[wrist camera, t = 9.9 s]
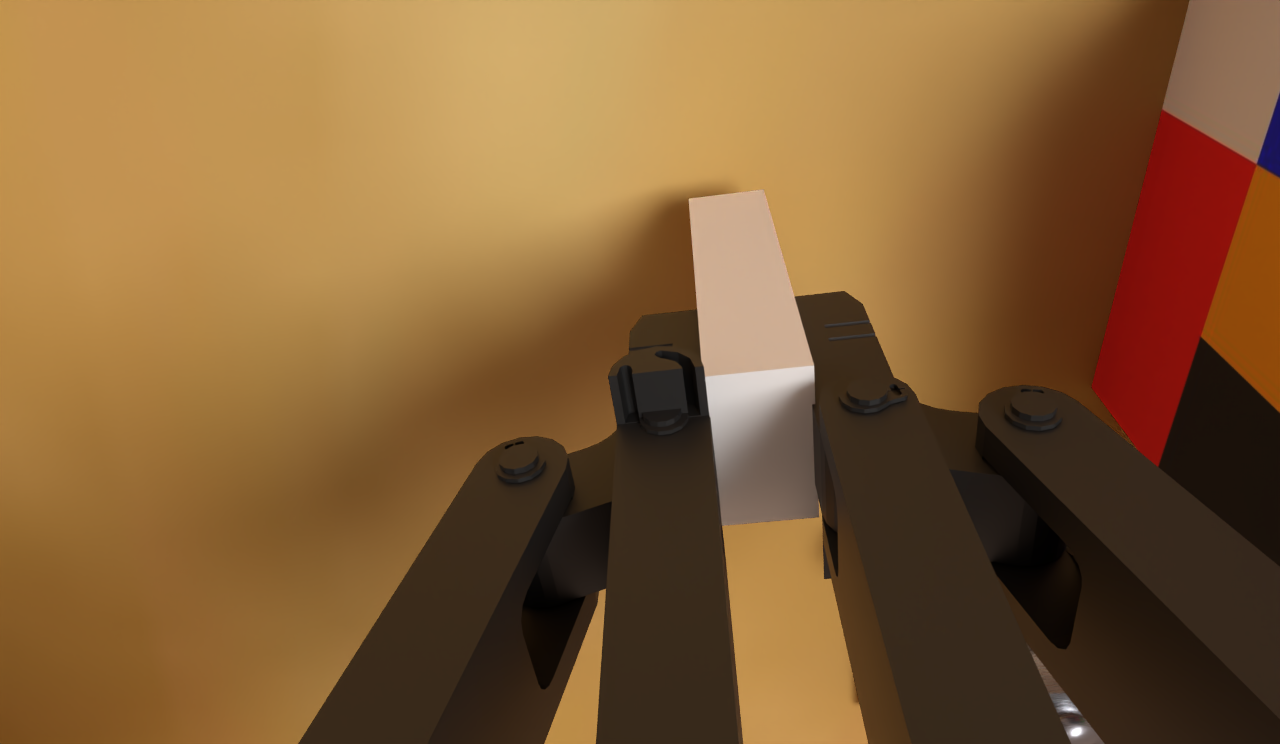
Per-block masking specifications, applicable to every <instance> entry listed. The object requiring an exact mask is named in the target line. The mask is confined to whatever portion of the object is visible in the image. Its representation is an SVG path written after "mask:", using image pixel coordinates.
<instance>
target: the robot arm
mask: <svg viewBox="0 0 1280 744" xmlns="http://www.w3.org/2000/svg"><path fill="white" fill-rule="evenodd" d="M689 210H690V223H691V236H692V248H693V261H694V274H695V287H696V299H697V310H689V311H680V312H671V313H662V314H653V315H644V316H642V317H641V318H640V319H639V321H638V322H637V323H636V325H635V326H634V327H633V328H632V330H631V331H630V340H629V355H626V356H624V357H623V358H621V359H620V360H619V361H618V362H617V363H616V364H614V365H613V366H612V368H611V371H610V373H609V375H608V379H609V384H610V390H611V395H612V400H613V406H614V411H615V416H616V422H617V430H616V431H615V432H614V433H613V434H612V435H611V436H610V437H608V438H606V439H605V440H603V441H602V442H600V443H598V444H596V445H593V446H591V447H588V448H586V449H583V450H580V451H576V452H573V453H570V454H567V453H566V451H565V449H564V447H563V446H562V445H560V444H559V443H557V442H556V441H554V440H553V439H548V438H543V437H538V436H536V437H522V438H517V439H514V440H511V441H508V442H504V443H502V444H500V445H498V446H497V447H495V448H493V449H492V450H490V451H488V452H487V453H486V454H485V455H484V456H483V457H482V458H481V459H480V460H479V461H478V463H477V464H476V465H475V467H474V469H473V470H472V472H471V473H470V475H469V476H468V478H467V480H466V481H465V483H464V484H463V486H462V487H461V489H460V491H459V492H458V494H457V495H456V497H455V498H454V500H453V502H452V503H451V505H450V506H449V508H448V509H447V511H446V513H445V514H444V516H443V517H442V519H441V520H440V522H439V524H438V525H437V527H436V528H435V530H434V531H433V533H432V535H431V536H430V538H429V539H428V541H427V542H426V544H425V546H424V547H423V549H422V550H421V552H420V553H419V555H418V557H417V558H416V560H415V561H414V563H413V564H412V566H411V568H410V569H409V571H408V572H407V574H406V575H405V577H404V579H403V580H402V582H401V583H400V585H399V586H398V588H397V590H396V591H395V593H394V594H393V596H392V597H391V599H390V601H389V602H388V604H387V605H386V607H385V608H384V610H383V612H382V613H381V615H380V616H379V618H378V619H377V621H376V623H375V624H374V626H373V627H372V629H371V630H370V632H369V634H368V635H367V637H366V638H365V640H364V641H363V643H362V645H361V646H360V648H359V649H358V651H357V652H356V654H355V656H354V657H353V659H352V660H351V662H350V663H349V665H348V667H347V668H346V670H345V671H344V673H343V674H342V676H341V677H340V679H339V681H338V682H337V684H336V685H335V687H334V688H333V690H332V692H331V693H330V695H329V696H328V698H327V699H326V701H325V703H324V704H323V706H322V707H321V709H320V710H319V712H318V714H317V715H316V717H315V718H314V720H313V721H312V723H311V725H310V726H309V728H308V729H307V731H306V732H305V734H304V736H303V737H302V739H301V740H300V742H299V743H298V744H544V743H545V740H546V737H547V735H548V732H549V730H550V727H551V724H552V722H553V719H554V716H555V714H556V711H557V709H558V706H559V703H560V701H561V698H562V695H563V693H564V690H565V687H566V685H567V682H568V680H569V677H570V674H571V672H572V669H573V666H574V664H575V661H576V659H577V656H578V653H579V651H580V648H581V645H582V643H583V640H584V638H585V635H586V632H587V630H588V627H589V624H590V622H591V619H592V616H593V614H594V611H595V609H596V606H597V602H598V595H599V591H600V590H603V589H606V600H605V615H604V630H603V646H602V661H601V676H600V691H599V706H598V722H597V737H596V744H743V738H742V727H741V717H740V706H739V696H738V685H737V675H736V664H735V653H734V643H733V632H732V622H731V611H730V600H729V590H728V579H727V569H726V558H725V548H724V539H723V530H722V526H724V525H735V524H747V523H758V522H770V521H781V520H792V519H804V518H815V517H819V504H818V499H819V503H820V507H821V511H822V522H823V556H824V579H830V578H831V579H832V584H833V588H834V592H835V597H836V601H837V606H838V610H839V615H840V619H841V624H842V628H843V632H844V637H845V641H846V646H847V650H848V655H849V659H850V664H851V668H852V672H853V677H854V681H855V686H856V690H857V695H858V699H859V704H860V708H861V713H862V717H863V721H864V726H865V730H866V735H867V739H868V744H1071V742H1070V740H1069V737H1068V735H1067V733H1066V731H1065V728H1064V726H1063V724H1062V722H1061V720H1060V717H1059V715H1058V713H1057V711H1056V708H1055V706H1054V704H1053V702H1052V699H1051V697H1050V695H1049V693H1048V690H1047V688H1046V686H1045V684H1044V681H1043V679H1042V677H1041V675H1040V672H1039V670H1038V668H1037V666H1036V663H1035V661H1034V659H1033V657H1032V654H1031V652H1030V650H1029V648H1028V646H1029V647H1030V648H1031V650H1032V651H1033V652H1034V653H1035V655H1036V656H1037V657H1038V659H1039V660H1040V661H1041V662H1042V664H1043V665H1044V666H1045V668H1046V669H1047V670H1048V672H1049V673H1050V674H1051V675H1052V677H1053V678H1054V679H1055V681H1056V682H1057V683H1058V684H1059V686H1060V687H1061V688H1062V690H1063V691H1064V692H1065V693H1066V695H1067V696H1068V697H1069V699H1070V700H1071V701H1072V702H1073V704H1074V705H1075V706H1076V708H1077V709H1078V710H1079V711H1080V713H1081V714H1082V715H1083V717H1084V718H1085V719H1086V720H1087V722H1088V723H1089V724H1090V726H1091V727H1092V728H1093V730H1094V731H1095V732H1096V733H1097V735H1098V736H1099V737H1100V739H1101V740H1102V741H1103V742H1104V744H1280V566H1278V565H1277V564H1276V563H1275V562H1273V561H1272V560H1271V559H1270V558H1269V557H1267V556H1266V555H1265V554H1264V553H1262V552H1261V551H1260V550H1259V549H1258V548H1256V547H1255V546H1254V545H1253V544H1251V543H1250V542H1249V541H1248V540H1247V539H1245V538H1244V537H1243V536H1242V535H1240V534H1239V533H1238V532H1237V531H1236V530H1234V529H1233V528H1232V527H1231V526H1230V525H1228V524H1227V523H1226V522H1225V521H1223V520H1222V519H1221V518H1220V517H1219V516H1217V515H1216V514H1215V513H1214V512H1212V511H1211V510H1210V509H1209V508H1208V507H1206V506H1205V505H1204V504H1203V503H1201V502H1200V501H1199V500H1198V499H1197V498H1195V497H1194V496H1193V495H1192V494H1190V493H1189V492H1188V491H1187V490H1186V489H1184V488H1183V487H1182V486H1181V485H1179V484H1178V483H1177V482H1176V481H1175V480H1173V479H1172V478H1171V477H1170V476H1168V475H1167V474H1166V473H1165V472H1164V471H1162V470H1161V469H1160V468H1159V467H1157V466H1156V465H1155V464H1154V463H1153V462H1151V461H1150V460H1149V459H1148V458H1147V457H1145V456H1144V455H1143V454H1142V453H1140V452H1139V451H1138V450H1137V449H1136V448H1134V447H1133V446H1132V445H1131V444H1129V443H1128V442H1127V441H1126V440H1125V439H1123V438H1122V437H1121V436H1120V435H1118V434H1117V433H1116V432H1115V431H1114V430H1112V429H1111V428H1110V427H1109V426H1107V425H1106V424H1105V423H1104V422H1103V421H1101V420H1100V419H1099V418H1098V417H1096V416H1095V415H1094V414H1093V413H1092V412H1090V411H1089V410H1088V409H1087V408H1085V407H1084V406H1083V405H1082V404H1081V403H1079V402H1078V401H1076V400H1075V399H1073V398H1071V397H1069V396H1068V395H1066V394H1064V393H1062V392H1059V391H1055V390H1052V389H1048V388H1045V387H1038V386H1026V385H1020V386H1012V387H1004V388H1001V389H999V390H996V391H994V392H991V393H989V394H988V395H987V396H986V397H985V398H984V399H983V400H982V401H981V402H980V403H979V413H969V412H959V411H950V410H944V409H938V408H933V407H930V406H927V405H924V404H921V403H919V401H918V399H917V396H916V394H915V393H914V392H913V391H912V389H911V388H910V387H909V386H908V385H907V384H906V383H904V382H902V381H900V380H898V379H896V378H894V377H893V374H892V372H891V370H890V367H889V365H888V362H887V360H886V358H885V355H884V353H883V351H882V348H881V346H880V344H879V341H878V339H877V337H875V332H874V330H873V327H872V325H871V323H870V321H869V318H868V315H867V313H866V311H865V308H864V306H863V304H862V303H861V302H859V301H858V300H856V299H855V298H853V297H852V296H851V295H849V294H848V293H846V292H845V291H841V292H832V293H823V294H814V295H805V296H796V297H794V294H793V290H792V287H791V283H790V280H789V276H788V273H787V269H786V266H785V262H784V259H783V255H782V252H781V248H780V245H779V241H778V238H777V234H776V231H775V227H774V224H773V220H772V217H771V214H770V210H769V207H768V203H767V200H766V196H765V193H764V189H763V190H755V191H747V192H738V193H730V194H722V195H714V196H706V197H698V198H689ZM1027 644H1028V645H1027Z"/></svg>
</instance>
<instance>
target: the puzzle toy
mask: <svg viewBox="0 0 1280 744" xmlns="http://www.w3.org/2000/svg"><path fill="white" fill-rule="evenodd" d="M1091 388H1092V389H1093V390H1094V392H1095V393H1096V394H1097V396H1098V397H1099V398H1100V400H1101V401H1102V402H1103V404H1104V405H1105V407H1106V408H1107V409H1108V411H1109V412H1110V413H1111V415H1112V416H1113V417H1114V419H1115V420H1116V421H1117V423H1118V424H1119V425H1120V427H1121V428H1122V429H1123V431H1124V432H1125V433H1126V435H1127V436H1128V437H1129V439H1130V440H1131V441H1132V443H1133V444H1134V445H1135V447H1136V448H1137V449H1138V451H1139V452H1140V453H1142V454H1143V455H1144V456H1145V457H1147V458H1148V459H1149V460H1150V461H1151V462H1153V463H1154V464H1155V465H1156V466H1157V467H1159V468H1160V469H1161V470H1162V471H1164V472H1165V473H1166V474H1167V475H1168V476H1170V477H1171V478H1172V479H1173V480H1175V481H1176V482H1177V483H1178V484H1179V485H1181V486H1182V487H1183V488H1184V489H1186V490H1187V491H1188V492H1189V493H1190V494H1192V495H1193V496H1194V497H1195V498H1197V499H1198V500H1199V501H1200V502H1201V503H1203V504H1204V505H1205V506H1206V507H1208V508H1209V509H1210V510H1211V511H1212V512H1214V513H1215V514H1216V515H1217V516H1219V517H1220V518H1221V519H1222V520H1223V521H1225V522H1226V523H1227V524H1228V525H1230V526H1231V527H1232V528H1233V529H1234V530H1236V531H1237V532H1238V533H1239V534H1240V535H1242V536H1243V537H1244V538H1245V539H1247V540H1248V541H1249V542H1250V543H1251V544H1253V545H1254V546H1255V547H1256V548H1258V549H1259V550H1260V551H1261V552H1262V553H1264V554H1265V555H1266V556H1267V557H1269V558H1270V559H1271V560H1272V561H1273V562H1275V563H1276V564H1277V565H1278V566H1280V0H1190V1H1189V5H1188V9H1187V13H1186V17H1185V21H1184V25H1183V29H1182V32H1181V36H1180V40H1179V44H1178V48H1177V52H1176V56H1175V60H1174V64H1173V68H1172V72H1171V76H1170V80H1169V84H1168V88H1167V91H1166V95H1165V99H1164V103H1163V107H1162V111H1161V115H1160V119H1159V123H1158V127H1157V131H1156V135H1155V139H1154V143H1153V147H1152V151H1151V154H1150V158H1149V162H1148V166H1147V170H1146V174H1145V178H1144V182H1143V186H1142V190H1141V194H1140V198H1139V202H1138V206H1137V210H1136V213H1135V217H1134V221H1133V225H1132V229H1131V233H1130V237H1129V241H1128V245H1127V249H1126V253H1125V257H1124V261H1123V265H1122V269H1121V272H1120V276H1119V280H1118V284H1117V288H1116V292H1115V296H1114V300H1113V304H1112V308H1111V312H1110V316H1109V320H1108V324H1107V328H1106V332H1105V335H1104V339H1103V343H1102V347H1101V351H1100V355H1099V359H1098V363H1097V367H1096V371H1095V375H1094V379H1093V383H1092V387H1091Z"/></svg>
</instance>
